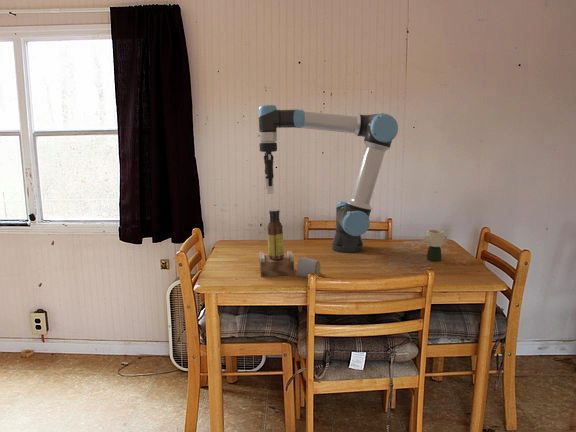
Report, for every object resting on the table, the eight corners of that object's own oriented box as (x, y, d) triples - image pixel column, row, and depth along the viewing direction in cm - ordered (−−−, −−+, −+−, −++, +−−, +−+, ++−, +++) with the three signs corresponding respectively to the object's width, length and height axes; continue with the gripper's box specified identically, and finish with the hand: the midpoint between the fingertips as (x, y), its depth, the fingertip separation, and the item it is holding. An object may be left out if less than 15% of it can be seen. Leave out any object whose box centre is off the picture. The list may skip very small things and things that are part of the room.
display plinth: (290, 268, 203) (291, 250, 201) (293, 275, 193) (293, 257, 192) (259, 269, 201) (259, 251, 200) (261, 276, 192) (260, 258, 190)
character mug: (441, 257, 220) (443, 229, 217) (449, 261, 213) (451, 232, 210) (418, 258, 218) (420, 229, 215) (425, 262, 211) (427, 233, 209)
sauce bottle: (284, 256, 199) (284, 208, 195) (283, 260, 193) (283, 211, 189) (268, 255, 199) (268, 208, 195) (266, 260, 193) (266, 211, 189)
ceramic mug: (316, 281, 187) (317, 261, 186) (296, 279, 189) (296, 259, 188) (322, 273, 197) (323, 254, 196) (303, 271, 199) (303, 253, 198)
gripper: (258, 141, 219) (259, 187, 224) (260, 143, 195) (262, 196, 199) (274, 140, 220) (275, 187, 224) (279, 143, 196) (280, 195, 200)
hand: (269, 191), depth 212 cm, fingers open, 13 cm apart
